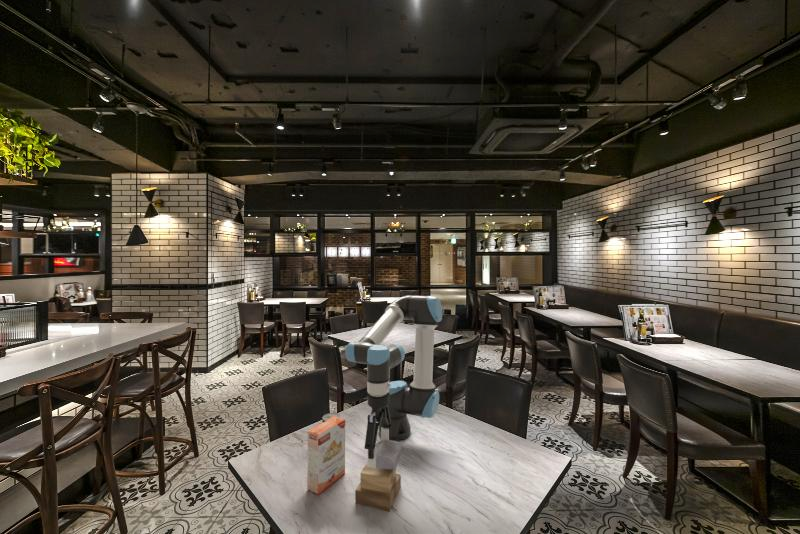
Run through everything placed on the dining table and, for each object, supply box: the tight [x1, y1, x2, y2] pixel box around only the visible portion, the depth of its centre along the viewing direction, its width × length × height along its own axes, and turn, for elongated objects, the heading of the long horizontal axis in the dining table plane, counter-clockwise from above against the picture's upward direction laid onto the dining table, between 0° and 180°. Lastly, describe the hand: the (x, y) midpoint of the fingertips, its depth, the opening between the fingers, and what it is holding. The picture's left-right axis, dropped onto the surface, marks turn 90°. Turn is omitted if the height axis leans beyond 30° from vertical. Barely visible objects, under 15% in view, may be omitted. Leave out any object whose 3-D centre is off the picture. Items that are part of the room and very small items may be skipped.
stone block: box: [375, 440, 403, 469], centre depth 110 cm, size 12×5×10 cm
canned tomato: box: [321, 412, 341, 423], centre depth 146 cm, size 8×8×11 cm
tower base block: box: [354, 473, 402, 513], centre depth 112 cm, size 12×12×5 cm
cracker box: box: [306, 416, 346, 495], centre depth 119 cm, size 14×6×21 cm, turn 148°
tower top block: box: [359, 461, 397, 493], centre depth 111 cm, size 8×10×5 cm
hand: (378, 456), depth 111 cm, fingers closed on stone block, 12 cm apart
